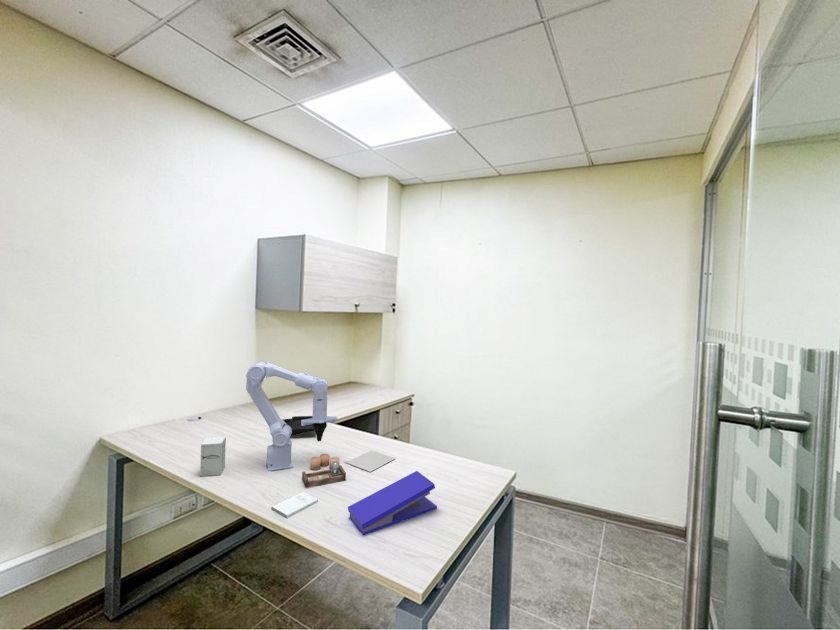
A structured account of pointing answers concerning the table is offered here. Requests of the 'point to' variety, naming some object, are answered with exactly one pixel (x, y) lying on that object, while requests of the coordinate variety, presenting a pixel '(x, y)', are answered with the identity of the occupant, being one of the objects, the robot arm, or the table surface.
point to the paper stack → (370, 460)
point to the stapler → (393, 504)
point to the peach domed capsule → (315, 463)
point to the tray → (299, 425)
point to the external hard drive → (294, 504)
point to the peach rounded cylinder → (324, 460)
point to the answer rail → (322, 478)
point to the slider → (335, 469)
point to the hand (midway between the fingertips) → (318, 440)
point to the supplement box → (212, 456)
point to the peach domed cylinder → (333, 461)
